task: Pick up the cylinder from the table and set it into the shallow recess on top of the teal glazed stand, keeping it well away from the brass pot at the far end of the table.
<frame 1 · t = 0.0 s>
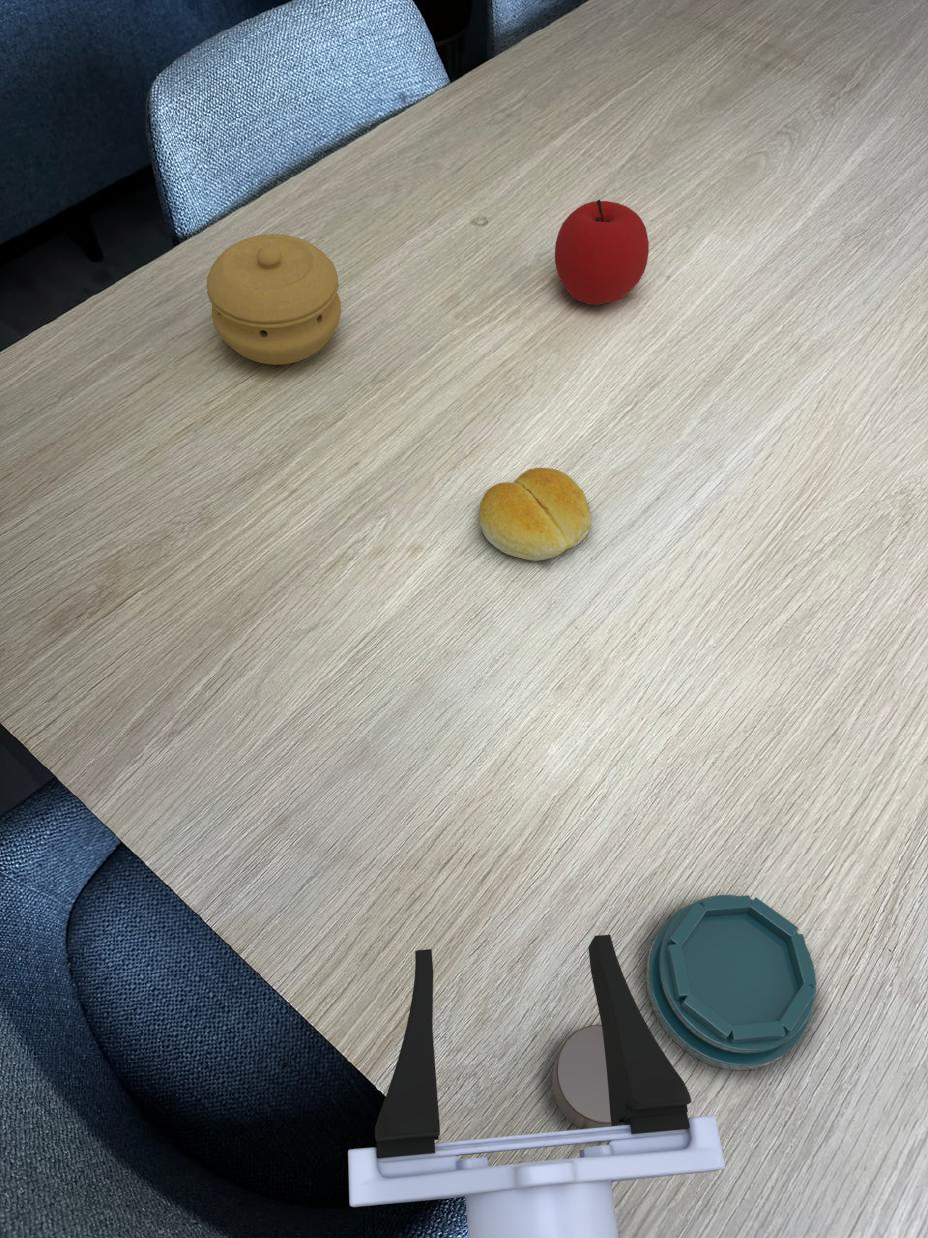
hand: (511, 947, 45), 20 cm above the table, tool horizontal, fingers open, 7 cm apart
bread roll: (534, 524, 86), on the table
cylinder: (595, 1084, 60), on the table
apple: (594, 291, 104), on the table
stand: (726, 984, 64), on the table
pot: (281, 342, 98), on the table
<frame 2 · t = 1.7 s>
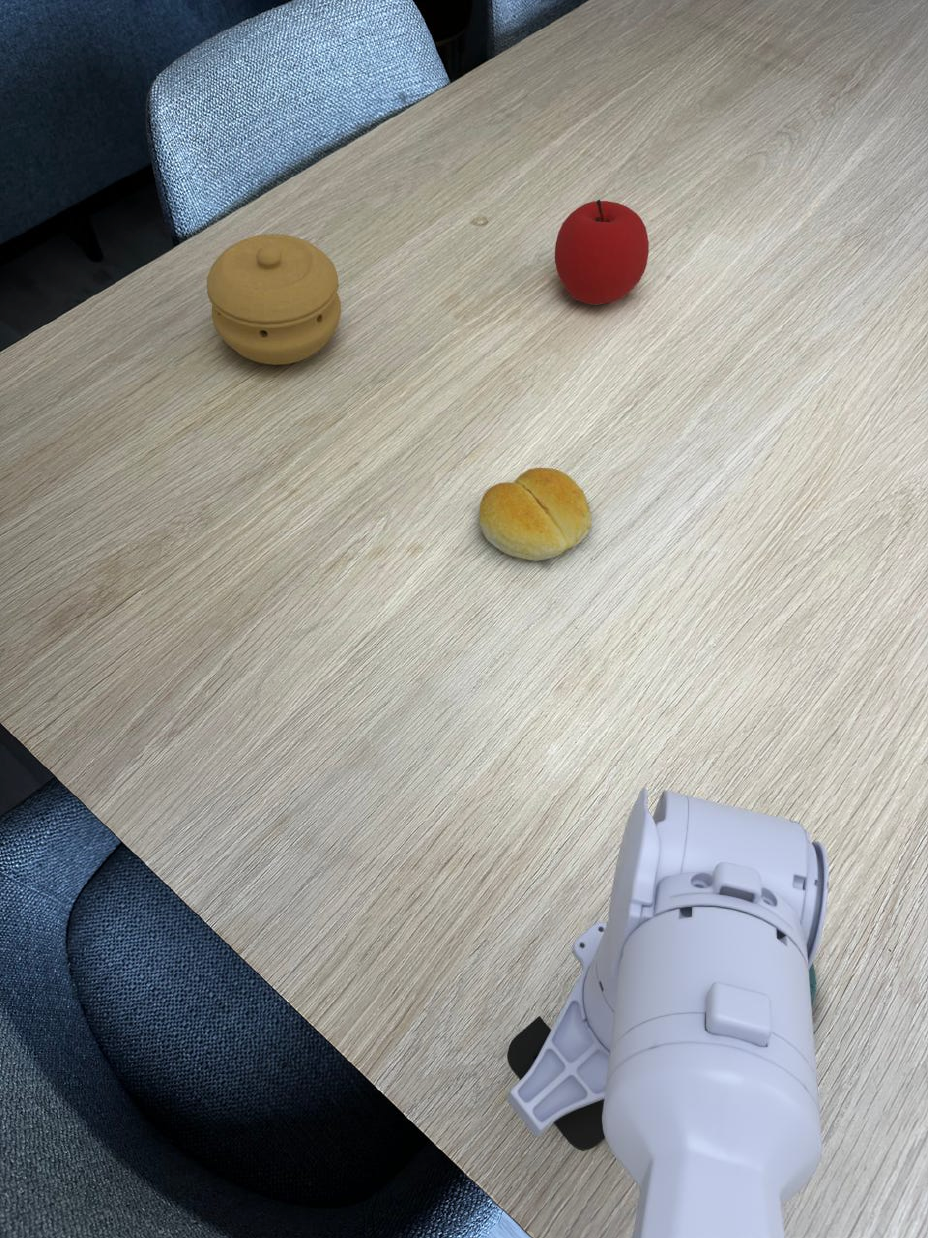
hand: (616, 1049, 54), 8 cm above the table, tool pointing down, fingers open, 7 cm apart
nothing on the table moved.
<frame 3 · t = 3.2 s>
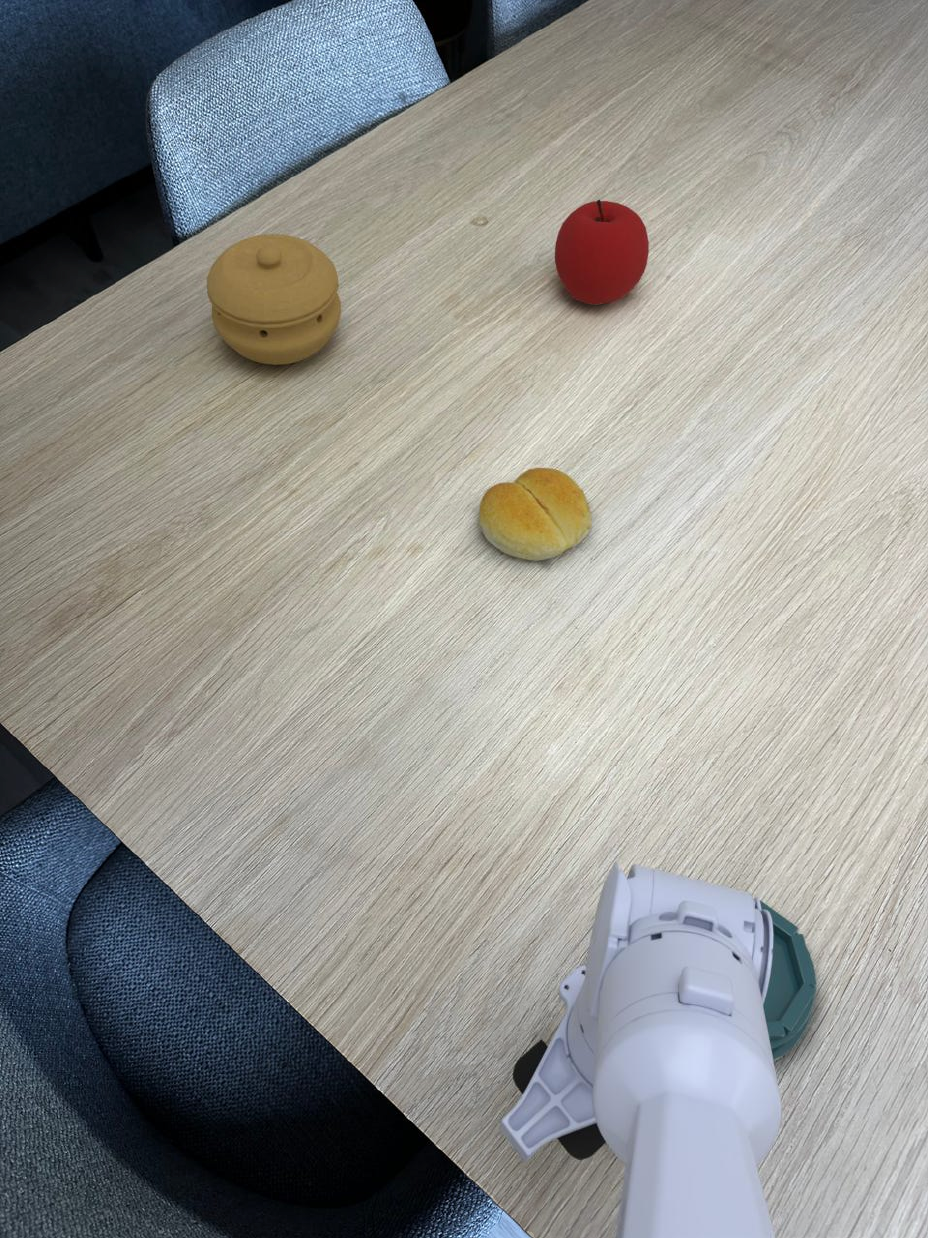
hand: (599, 1078, 59), 2 cm above the table, tool pointing down, fingers closed on cylinder, 5 cm apart
cylinder: (595, 1084, 60), on the table, touching gripper
everything else where it was.
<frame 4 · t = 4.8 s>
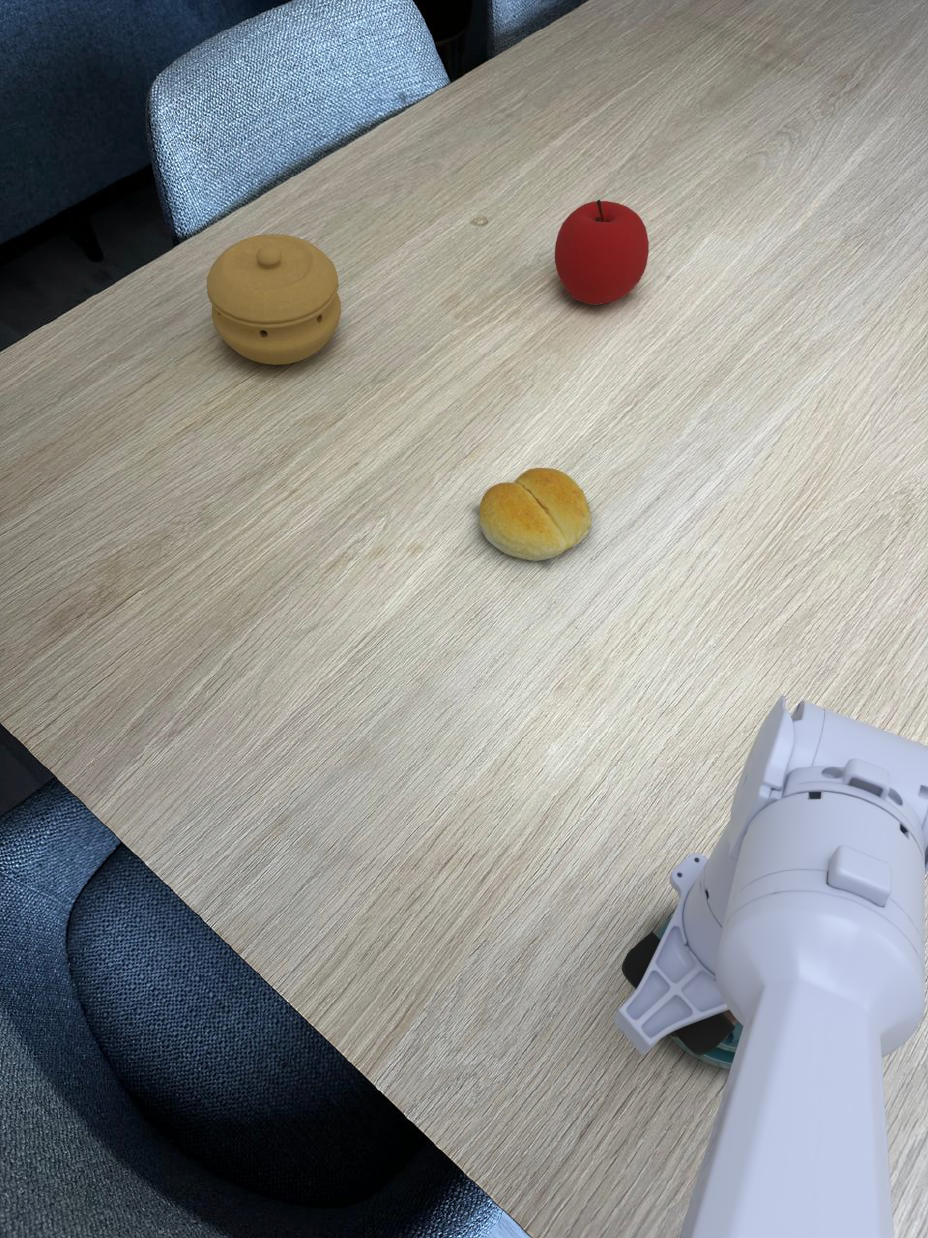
hand: (702, 983, 56), 8 cm above the table, tool pointing down, fingers closed on cylinder, 5 cm apart
cylinder: (695, 992, 57), point 7 cm above the table, touching gripper
everything else where it was.
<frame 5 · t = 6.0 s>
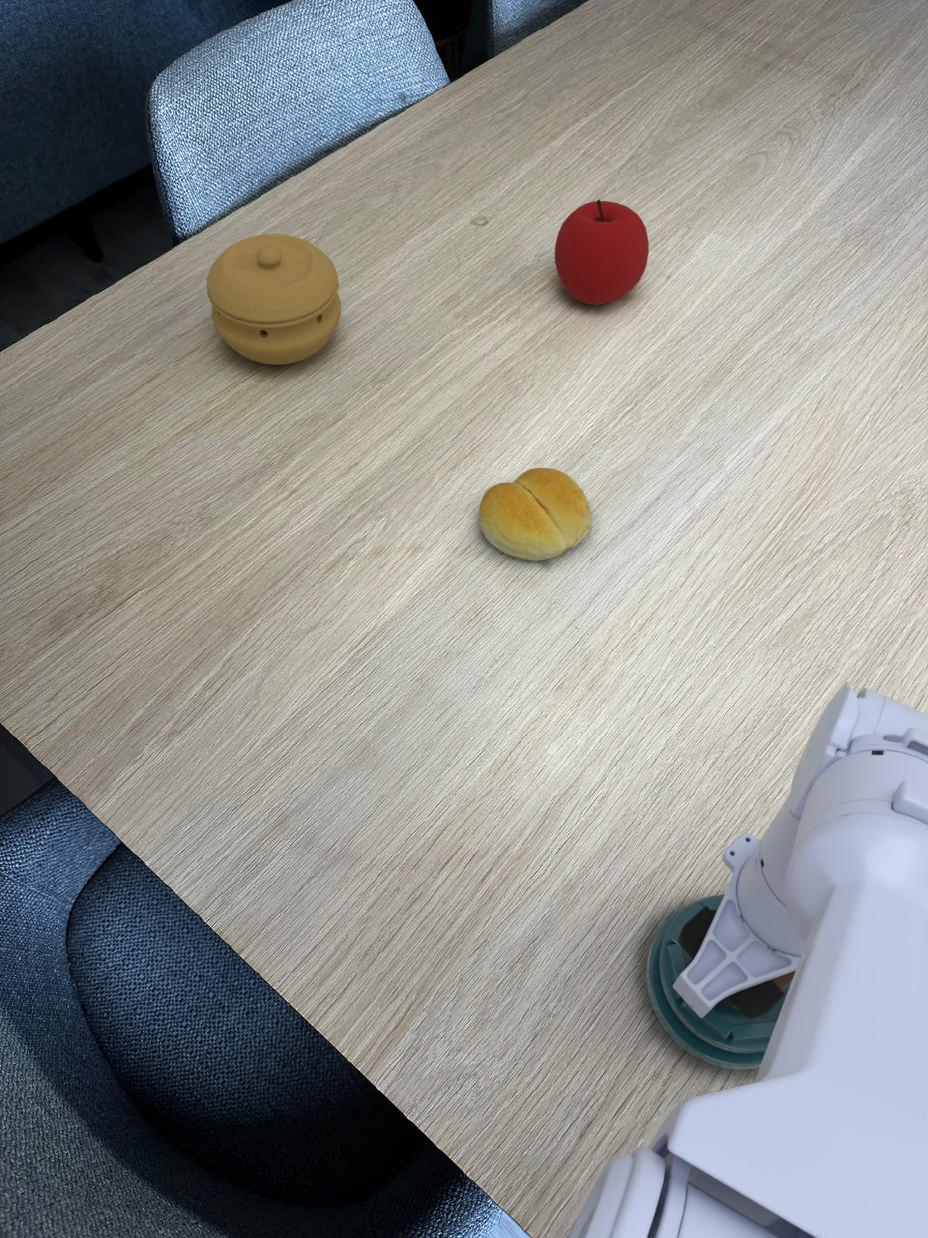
hand: (748, 957, 60), 5 cm above the table, tool pointing down, fingers closed on cylinder, 5 cm apart
cylinder: (740, 965, 61), point 4 cm above the table, touching gripper
everything else where it was.
when the fingers open (5 cm above the table, at t = 6.7 s): cylinder stays where it is, resting on stand.
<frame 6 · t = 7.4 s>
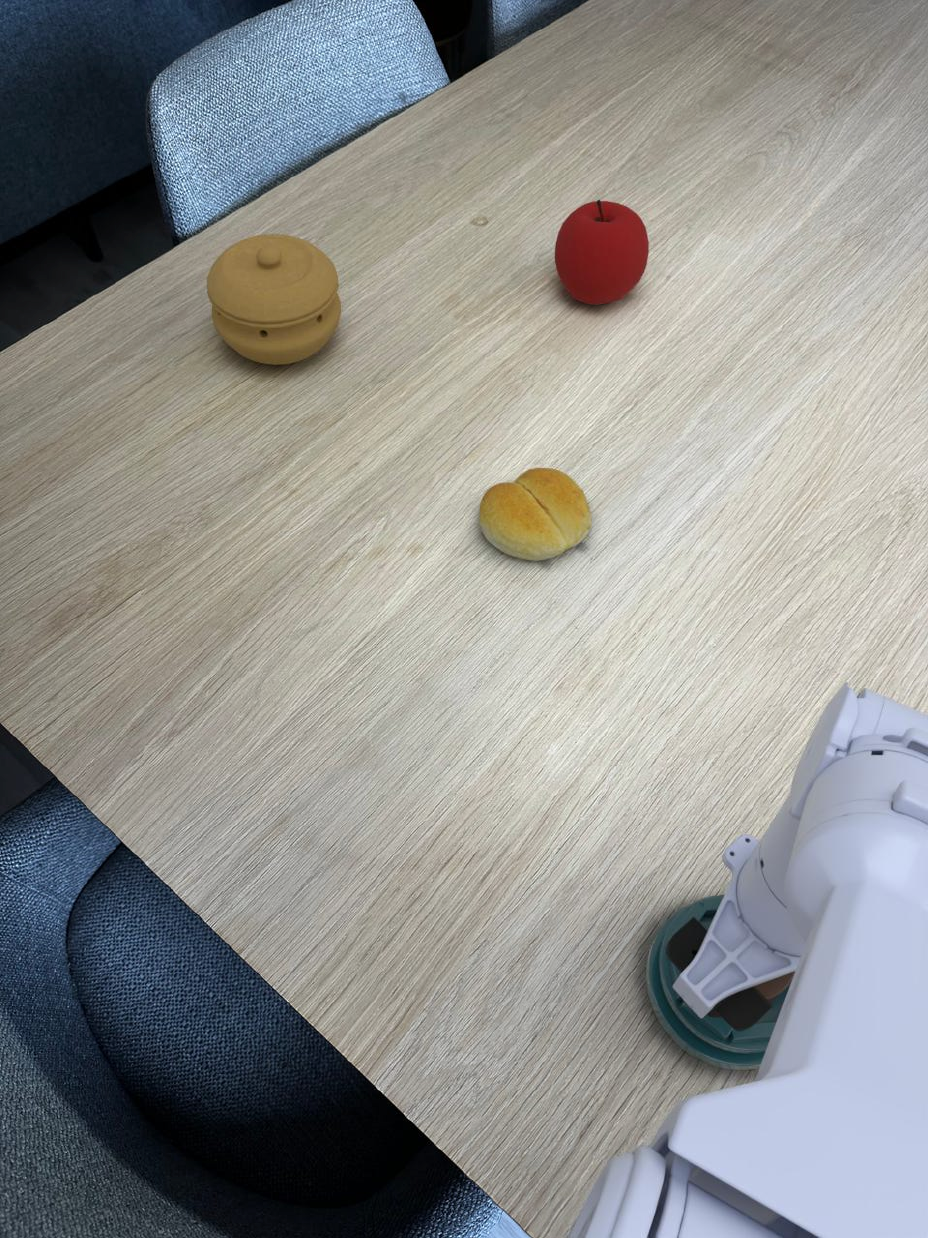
hand: (747, 957, 60), 5 cm above the table, tool pointing down, fingers open, 7 cm apart
cylinder: (737, 969, 62), point 3 cm above the table, touching stand
everything else where it was.
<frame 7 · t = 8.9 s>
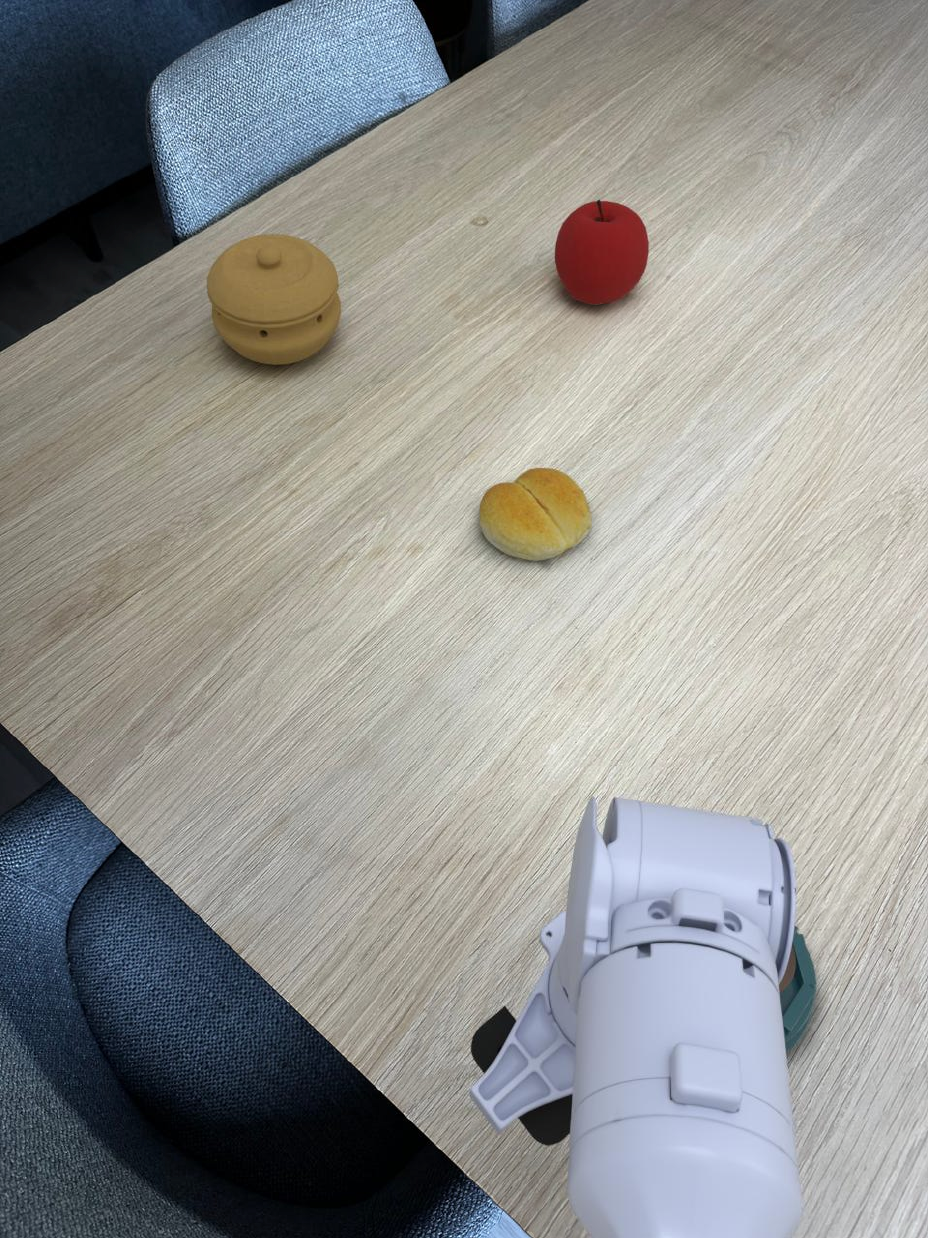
hand: (589, 1032, 52), 10 cm above the table, tool pointing down, fingers open, 7 cm apart
nothing on the table moved.
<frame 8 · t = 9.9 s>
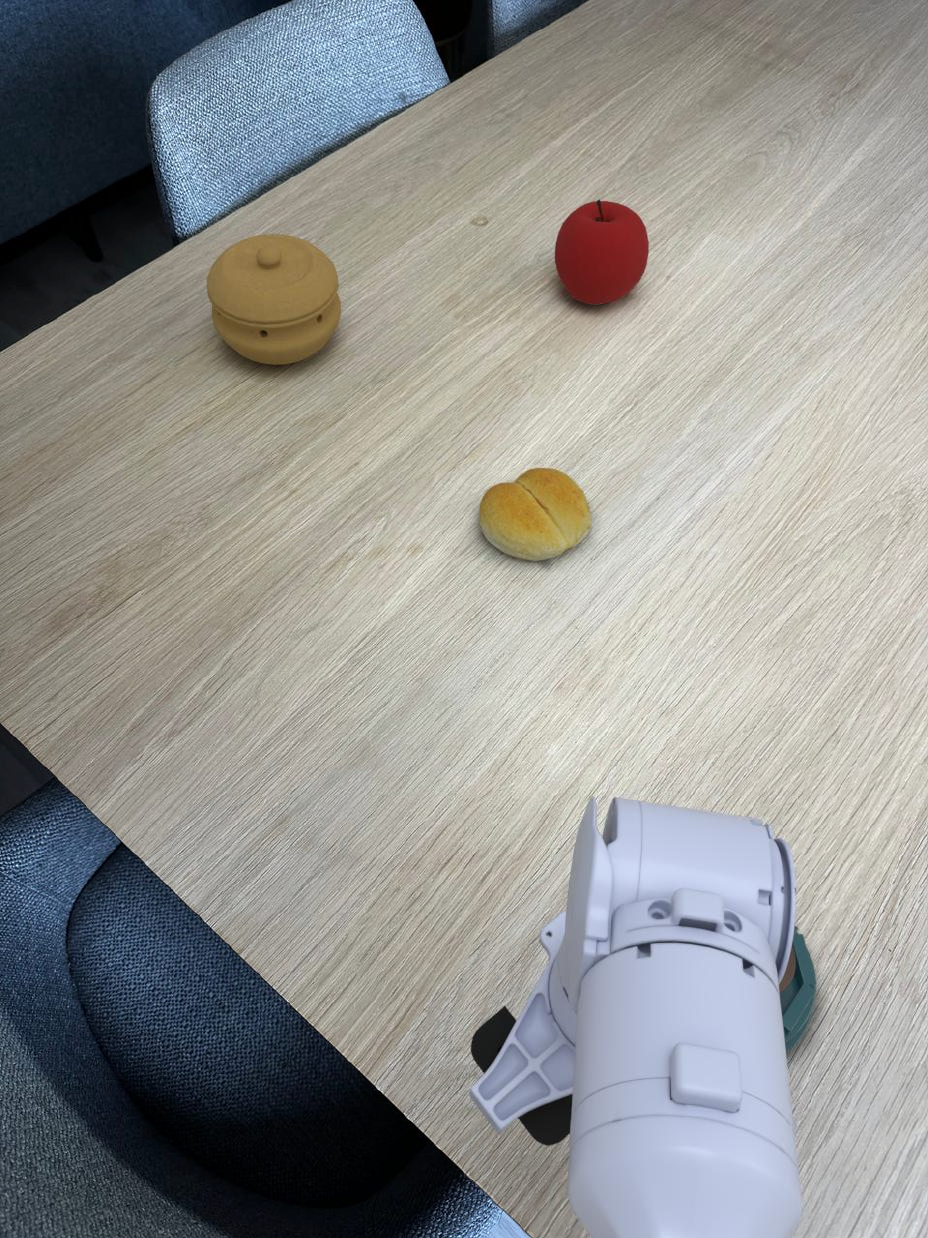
hand: (589, 1032, 52), 10 cm above the table, tool pointing down, fingers open, 7 cm apart
nothing on the table moved.
at the end: cylinder 0.0 cm off-centre on the stand, point 3.0 cm above the stand's base; cylinder tilted 0°; cylinder touching stand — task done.
